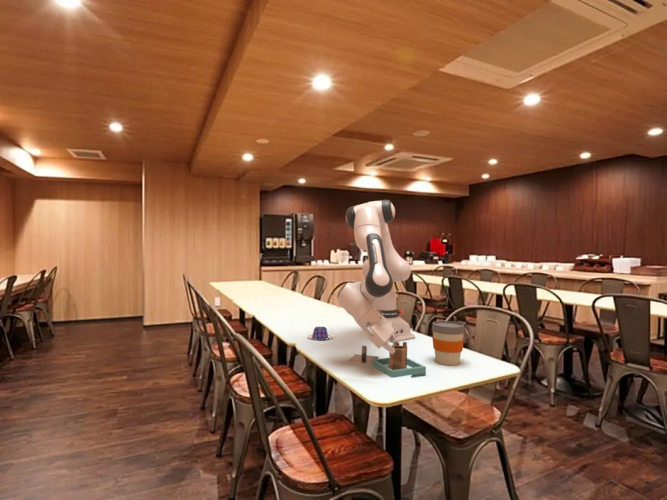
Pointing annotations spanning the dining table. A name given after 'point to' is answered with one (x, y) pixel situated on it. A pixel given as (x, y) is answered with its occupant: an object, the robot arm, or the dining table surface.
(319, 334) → the purple plaid hat
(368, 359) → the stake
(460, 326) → the reusable coffee cup
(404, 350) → the brown wooden holder
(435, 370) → the dining table surface
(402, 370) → the tray
